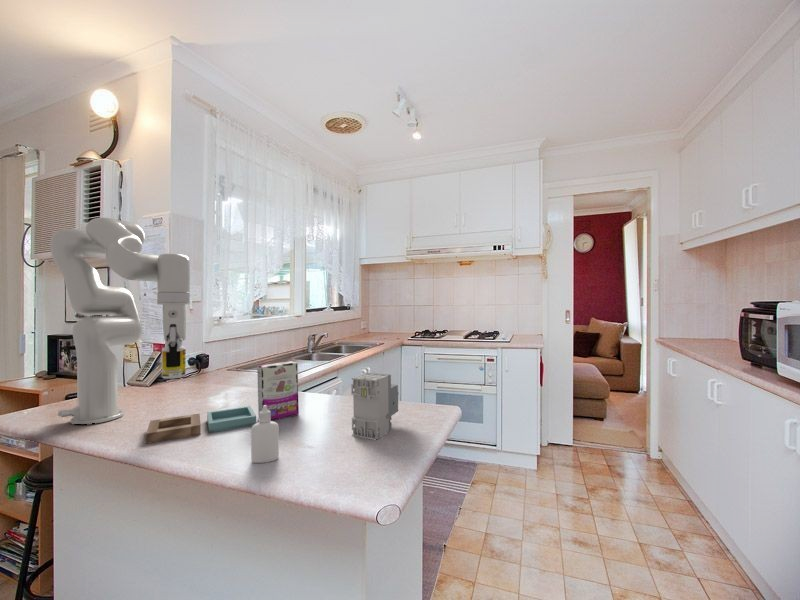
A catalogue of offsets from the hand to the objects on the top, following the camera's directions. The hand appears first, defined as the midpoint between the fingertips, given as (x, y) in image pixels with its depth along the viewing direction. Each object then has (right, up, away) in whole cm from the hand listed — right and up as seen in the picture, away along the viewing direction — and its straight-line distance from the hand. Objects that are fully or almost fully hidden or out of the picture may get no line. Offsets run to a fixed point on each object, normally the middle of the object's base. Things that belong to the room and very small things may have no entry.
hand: (173, 364), depth 98 cm
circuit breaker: (+56, -18, 0) cm, 59 cm away
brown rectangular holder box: (+1, -19, 0) cm, 19 cm away
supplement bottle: (0, -4, 0) cm, 4 cm away
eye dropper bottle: (+32, -18, -19) cm, 41 cm away
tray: (+13, -18, +7) cm, 23 cm away
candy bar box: (+25, -19, +12) cm, 33 cm away
